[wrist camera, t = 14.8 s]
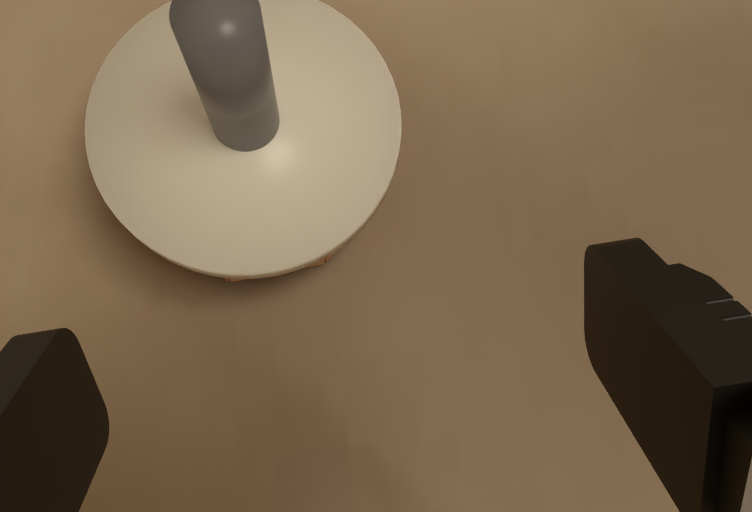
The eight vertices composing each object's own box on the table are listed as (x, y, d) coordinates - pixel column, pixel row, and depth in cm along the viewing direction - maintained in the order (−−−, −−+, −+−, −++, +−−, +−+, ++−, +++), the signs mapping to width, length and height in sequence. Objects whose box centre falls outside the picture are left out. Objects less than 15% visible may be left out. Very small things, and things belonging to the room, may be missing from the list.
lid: (215, -50, 33) (172, -224, 24) (454, 97, 32) (501, -29, 23) (28, 168, 30) (-102, 60, 21) (287, 340, 29) (267, 304, 20)
